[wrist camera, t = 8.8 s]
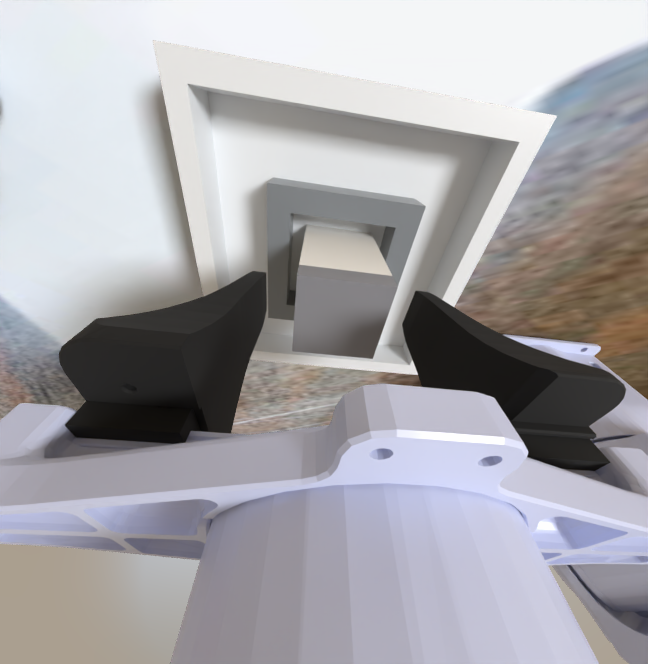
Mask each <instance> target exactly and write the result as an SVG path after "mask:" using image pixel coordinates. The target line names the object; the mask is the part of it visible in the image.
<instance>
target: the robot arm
mask: <svg viewBox="0 0 648 664" xmlns="http://www.w3.org/2000/svg"><path fill="white" fill-rule="evenodd" d="M266 311H267V288H266V272H258V271H252V272H250V273H248V274H246V275H244V276H243V277H241V278H239V279H237V280H236V281H234V282H232V283H230V284H229V285H227V286H225V287H223V288H221V289H219V290H217V291H215V292H213V293H211V294H208V295H206V296H204V297H201V298H198V299H196V300H193V301H190V302H187V303H183V304H179V305H176V306H172V307H169V308H165V309H160V310H155V311H150V312H145V313H139V314H133V315H125V316H116V317H108V318H98V319H96V320H94V321H93V322H92V323H91V324H89V325H88V326H87V327H86V328H84V329H83V330H82V331H81V332H79V333H78V334H77V335H76V336H74V337H73V338H72V339H71V340H69V341H68V342H67V343H66V344H64V345H63V346H62V348H61V350H60V352H59V359H60V364H61V366H62V368H63V370H64V372H65V373H66V375H67V376H68V377H69V379H70V380H71V381H72V383H73V384H74V385H75V387H76V388H77V389H78V391H79V392H80V393H81V395H82V396H83V397H84V399H85V400H86V402H85V403H84V404H83V405H82V407H81V408H80V409H79V410H78V411H76V410H74V409H72V408H70V407H66V406H59V405H46V404H32V403H21V404H18V405H17V406H16V407H15V408H14V409H13V410H12V411H10V412H9V413H8V414H7V415H6V416H5V417H3V418H2V419H1V420H0V544H17V545H18V544H19V545H37V546H52V547H67V548H78V549H91V550H101V551H111V552H122V553H131V554H132V553H133V554H142V555H153V556H162V557H172V558H183V559H192V560H200V563H199V566H198V570H197V573H196V577H195V580H194V583H193V587H192V591H191V594H190V597H189V600H188V604H187V607H186V611H185V614H184V617H183V621H182V624H181V628H180V631H179V634H178V638H177V641H176V645H175V648H174V651H173V655H172V658H171V662H170V664H599V663H598V661H597V659H596V657H595V655H594V653H593V651H592V649H591V647H590V645H589V644H588V642H587V640H586V638H585V636H584V634H583V632H582V630H581V628H580V626H579V624H578V623H577V621H576V619H575V617H574V615H573V613H572V611H571V609H570V607H569V605H568V603H567V601H566V599H565V598H564V596H563V594H562V592H561V590H560V588H559V586H558V584H557V582H556V580H555V578H554V577H553V575H552V573H551V571H550V569H549V567H548V565H552V567H553V568H554V569H555V571H556V572H557V573H558V575H559V576H560V577H561V578H562V580H563V581H564V582H565V583H566V585H567V586H568V587H569V588H570V589H571V590H572V591H573V592H574V593H575V594H576V595H577V597H578V598H579V599H580V601H581V602H582V603H583V605H584V606H585V607H586V609H587V610H588V611H589V613H590V614H591V616H592V617H593V619H594V620H595V622H596V623H597V625H598V626H599V628H600V629H601V630H602V632H603V633H604V635H605V636H606V638H607V639H608V640H609V641H610V642H611V643H612V644H613V646H614V648H615V649H616V651H617V652H618V654H619V655H620V656H621V657H622V658H623V659H624V660H625V661H626V662H628V663H629V664H648V400H647V399H646V398H645V397H643V396H642V395H641V394H640V393H638V392H637V391H636V390H635V389H634V388H632V387H631V386H630V385H629V384H627V383H626V382H625V381H624V380H622V379H621V378H620V377H619V376H618V375H616V374H615V373H614V372H613V371H611V370H610V369H609V368H608V367H606V366H605V365H604V364H603V363H601V362H600V361H599V360H598V359H597V358H595V357H594V355H596V354H597V353H598V352H599V351H600V349H601V347H600V346H598V345H597V344H590V343H581V342H572V341H562V340H553V339H544V338H534V337H525V336H516V335H506V334H503V335H502V334H500V333H498V332H496V331H494V330H492V329H490V328H488V327H486V326H484V325H482V324H480V323H479V322H477V321H475V320H474V319H472V318H470V317H469V316H467V315H465V314H464V313H462V312H460V311H459V310H457V309H456V308H454V307H453V306H451V305H450V304H448V303H447V302H445V301H443V300H442V299H440V298H439V297H437V296H435V295H433V294H431V293H429V292H424V291H415V293H414V296H413V298H412V301H411V303H410V306H409V308H408V311H407V313H406V316H405V318H404V321H403V323H402V327H403V333H404V337H405V341H406V344H407V347H408V350H409V352H410V355H411V357H412V360H413V363H414V365H415V368H416V370H417V373H418V376H419V379H420V382H421V385H422V387H417V386H406V385H394V384H373V385H363V386H361V387H359V388H357V389H355V390H352V391H350V392H348V393H346V394H345V395H344V396H343V397H342V398H341V400H340V401H339V402H338V404H337V405H336V407H335V410H334V413H333V417H332V420H331V422H330V424H329V425H326V426H318V427H310V428H301V429H293V430H285V431H277V432H269V433H260V434H252V435H245V434H231V430H232V425H233V421H234V417H235V412H236V408H237V404H238V400H239V396H240V392H241V388H242V384H243V380H244V376H245V372H246V369H247V366H248V363H249V360H250V357H251V355H252V352H253V350H254V347H255V345H256V342H257V340H258V337H259V335H260V332H261V330H262V327H263V324H264V320H265V315H266Z"/></svg>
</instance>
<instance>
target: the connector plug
mask: <svg viewBox="0 0 648 664" xmlns="http://www.w3.org/2000/svg"><path fill="white" fill-rule="evenodd" d="M397 289H398V286H397V284H396V282H395V280H394V278H393V276H392V274H391V272H390V270H389V268H388V266H387V264H386V262H385V260H384V258H383V256H382V254H381V252H380V250H379V248H378V246H377V244H376V242H375V240H374V238H373V236H372V234H371V233H367V232H359V231H352V230H345V229H337V228H330V227H323V226H315V225H308V224H307V226H306V231H305V236H304V241H303V247H302V252H301V257H300V262H299V268H298V273H297V283H296V298H295V313H294V328H293V343H292V351H294V352H304V353H315V354H326V355H336V356H347V357H358V358H369V359H373V357H374V354H375V351H376V348H377V345H378V343H379V340H380V337H381V334H382V331H383V328H384V326H385V323H386V320H387V317H388V314H389V311H390V308H391V306H392V303H393V300H394V297H395V294H396V291H397Z"/></svg>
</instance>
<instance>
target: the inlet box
mask: <svg viewBox="0 0 648 664" xmlns="http://www.w3.org/2000/svg"><path fill="white" fill-rule="evenodd" d="M153 45H154V50H155V55H156V60H157V65H158V70H159V75H160V80H161V85H162V90H163V95H164V100H165V105H166V110H167V115H168V121H169V126H170V131H171V136H172V141H173V146H174V151H175V156H176V161H177V166H178V171H179V176H180V181H181V186H182V191H183V197H184V202H185V207H186V212H187V217H188V222H189V227H190V232H191V237H192V242H193V247H194V252H195V257H196V262H197V268H198V273H199V278H200V283H201V288H202V293H203V297H204V296H206V295H208V294H211V293H213V292H215V291H217V290H219V289H221V288H223V287H225V286H227V285H229V284H230V283H232V282H234V281H236V280H237V279H239V278H241V277H243V276H244V275H246V274H248V273H250V272H252V271H258V272H266V288H267V311H266V315H265V320H264V324H263V327H262V330H261V332H260V335H259V337H258V340H257V342H256V345H255V347H254V350H253V352H252V355H251V357H250V360H257V361H269V362H280V363H291V364H302V365H313V366H324V367H335V368H346V369H357V370H368V371H379V372H391V373H402V374H413V375H418V373H417V370H416V368H415V365H414V363H413V360H412V357H411V355H410V352H409V350H408V347H407V344H406V341H405V337H404V333H403V327H402V323H403V321H404V318H405V316H406V313H407V311H408V308H409V306H410V303H411V301H412V298H413V296H414V293H415V291H424V292H429V293H431V294H433V295H435V296H437V297H439V298H440V299H442V300H443V301H445V302H447V303H448V304H450V305H451V306H453V307H454V306H455V304H456V302H457V300H458V299H459V297H460V295H461V293H462V291H463V289H464V287H465V286H466V284H467V282H468V280H469V278H470V276H471V274H472V273H473V271H474V269H475V267H476V265H477V263H478V261H479V260H480V258H481V256H482V254H483V252H484V250H485V248H486V247H487V245H488V243H489V241H490V239H491V237H492V235H493V234H494V232H495V230H496V228H497V226H498V224H499V222H500V221H501V219H502V217H503V215H504V213H505V211H506V209H507V208H508V206H509V204H510V202H511V200H512V198H513V196H514V195H515V193H516V191H517V189H518V187H519V185H520V183H521V182H522V180H523V178H524V176H525V174H526V172H527V170H528V169H529V167H530V165H531V163H532V161H533V159H534V157H535V156H536V154H537V152H538V150H539V148H540V146H541V144H542V143H543V141H544V139H545V137H546V135H547V133H548V131H549V130H550V128H551V126H552V124H553V122H554V120H555V118H556V117H557V116H555V115H550V114H544V113H539V112H534V111H528V110H523V109H518V108H512V107H507V106H502V105H496V104H491V103H486V102H480V101H475V100H470V99H464V98H459V97H454V96H448V95H443V94H438V93H432V92H427V91H422V90H416V89H411V88H406V87H400V86H395V85H390V84H384V83H379V82H374V81H368V80H363V79H358V78H352V77H347V76H342V75H336V74H331V73H326V72H321V71H315V70H310V69H305V68H299V67H294V66H289V65H283V64H278V63H273V62H267V61H262V60H257V59H251V58H246V57H241V56H235V55H230V54H225V53H219V52H214V51H209V50H203V49H198V48H193V47H187V46H182V45H177V44H171V43H166V42H161V41H155V40H153ZM307 224H308V225H315V226H323V227H330V228H337V229H345V230H352V231H359V232H367V233H371V234H372V236H373V238H374V240H375V242H376V244H377V246H378V248H379V250H380V252H381V254H382V256H383V258H384V260H385V262H386V264H387V266H388V268H389V270H390V272H391V274H392V276H393V278H394V280H395V282H396V284H397V286H398V289H397V291H396V294H395V297H394V300H393V303H392V306H391V308H390V311H389V314H388V317H387V320H386V323H385V326H384V328H383V331H382V334H381V337H380V340H379V343H378V345H377V348H376V351H375V354H374V357H373V359H369V358H358V357H347V356H336V355H326V354H315V353H304V352H294V351H292V343H293V328H294V313H295V298H296V283H297V273H298V268H299V262H300V257H301V252H302V247H303V241H304V236H305V231H306V226H307Z"/></svg>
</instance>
